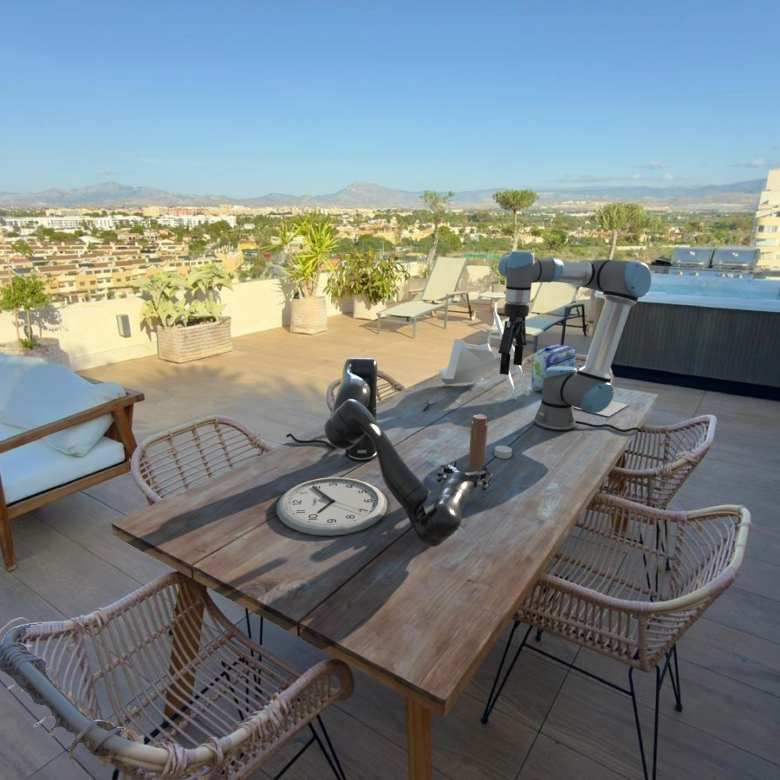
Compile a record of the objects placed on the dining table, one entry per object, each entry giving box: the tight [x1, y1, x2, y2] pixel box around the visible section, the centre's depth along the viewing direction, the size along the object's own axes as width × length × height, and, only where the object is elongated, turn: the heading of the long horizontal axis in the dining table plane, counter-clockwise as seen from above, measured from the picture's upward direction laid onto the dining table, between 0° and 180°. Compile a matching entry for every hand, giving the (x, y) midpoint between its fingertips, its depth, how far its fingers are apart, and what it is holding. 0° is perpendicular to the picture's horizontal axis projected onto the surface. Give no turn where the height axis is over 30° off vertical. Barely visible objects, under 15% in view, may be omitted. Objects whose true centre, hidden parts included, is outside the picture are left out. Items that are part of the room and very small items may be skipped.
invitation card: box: [573, 400, 629, 418], centre depth 226 cm, size 21×1×15 cm
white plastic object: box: [438, 310, 531, 400], centre depth 245 cm, size 37×45×31 cm
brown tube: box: [467, 413, 489, 478], centre depth 158 cm, size 5×5×19 cm
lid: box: [493, 445, 513, 460], centre depth 176 cm, size 6×6×2 cm
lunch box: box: [530, 344, 577, 392], centre depth 247 cm, size 26×11×21 cm, turn 134°
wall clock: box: [276, 476, 388, 537], centre depth 142 cm, size 30×2×30 cm
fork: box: [422, 395, 437, 412], centre depth 223 cm, size 3×16×2 cm, turn 160°
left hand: (469, 466), depth 148 cm, fingers open, 8 cm apart
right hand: (511, 369), depth 168 cm, fingers open, 13 cm apart
